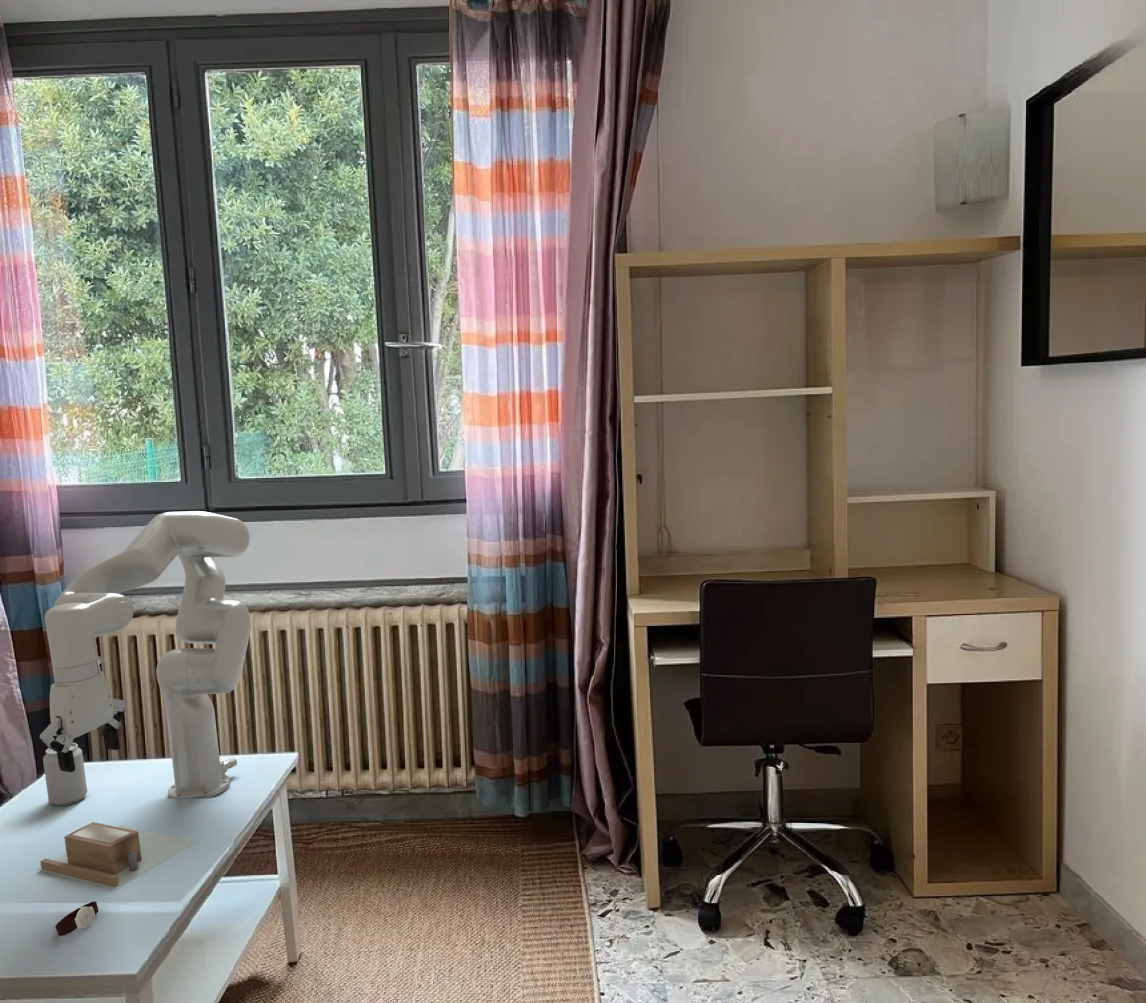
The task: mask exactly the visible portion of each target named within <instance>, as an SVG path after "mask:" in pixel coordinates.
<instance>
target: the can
mask: <svg viewBox="0 0 1146 1003" xmlns="http://www.w3.org/2000/svg"><path fill="white" fill-rule="evenodd" d="M63 744H64V742H63ZM78 746H79V745H78V743H76V742H72V744H71V746H70V748H69V750H72V752H73V757H74V763H75V771H74V772H65V771H61V770H60V767H59V763H58V757H57V752H56V751H53V749H51V748H49V747H47V749H45V755H44V756H43V758H42V761H43V770H44V776H45V777H44V778H45V784H46V791H47V799H48V802H49V803H50V804H53V805H54V806H58V807H62V806H69V805H73V804H75V803H79V802H80V801H82V800H83V799H84V798H85V796H87V794H88V786H87V780H86V778H87V777H86V771H85V763H84V755H83V750H82V749H81V748H80V747H78Z"/></svg>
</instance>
